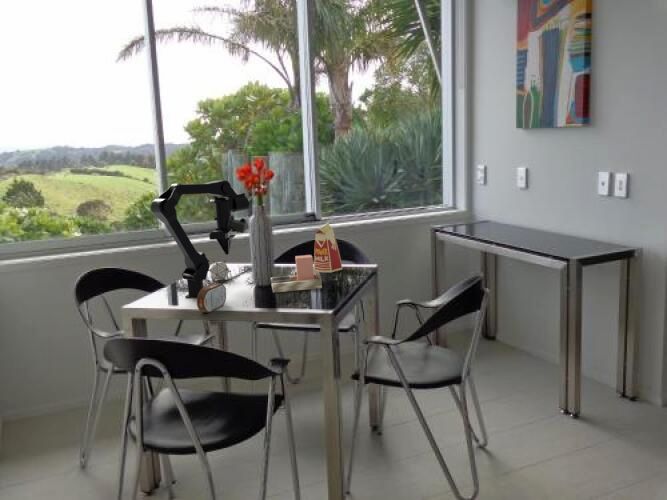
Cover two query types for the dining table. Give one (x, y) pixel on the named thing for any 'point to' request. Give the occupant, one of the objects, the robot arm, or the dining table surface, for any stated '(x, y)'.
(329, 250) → the milk carton
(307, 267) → the coral block
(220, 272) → the geodesic ball
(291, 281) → the wooden tray
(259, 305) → the dining table surface
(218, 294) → the tin
